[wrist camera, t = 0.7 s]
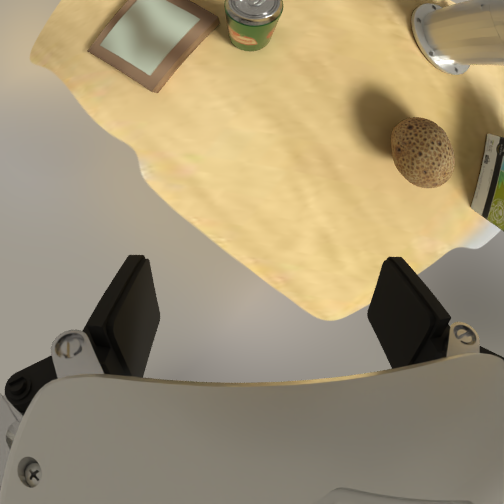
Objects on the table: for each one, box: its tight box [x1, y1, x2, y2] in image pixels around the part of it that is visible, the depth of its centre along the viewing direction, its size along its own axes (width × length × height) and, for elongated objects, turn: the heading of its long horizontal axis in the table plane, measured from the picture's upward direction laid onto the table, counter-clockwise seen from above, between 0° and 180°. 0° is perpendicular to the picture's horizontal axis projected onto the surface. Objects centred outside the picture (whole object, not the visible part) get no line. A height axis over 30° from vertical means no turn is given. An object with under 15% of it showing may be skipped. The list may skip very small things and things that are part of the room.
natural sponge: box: [391, 117, 455, 188], centre depth 28 cm, size 9×9×10 cm
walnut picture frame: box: [88, 0, 220, 93], centre depth 23 cm, size 12×12×3 cm
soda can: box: [225, 0, 283, 51], centre depth 20 cm, size 5×5×12 cm
